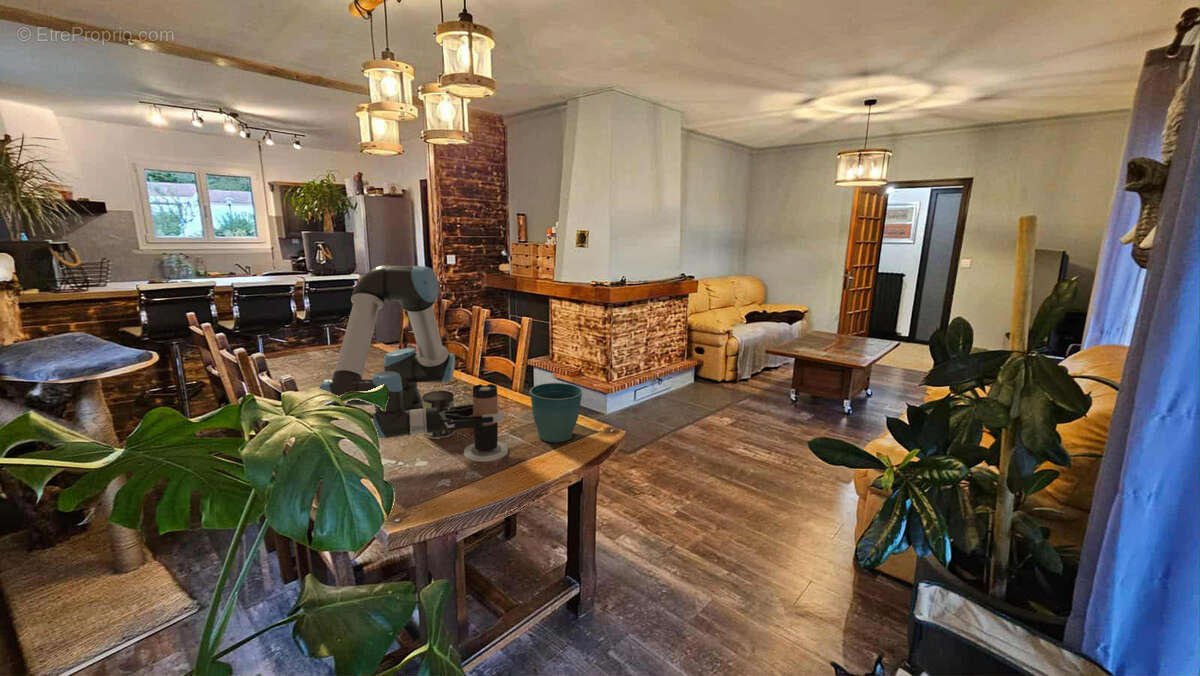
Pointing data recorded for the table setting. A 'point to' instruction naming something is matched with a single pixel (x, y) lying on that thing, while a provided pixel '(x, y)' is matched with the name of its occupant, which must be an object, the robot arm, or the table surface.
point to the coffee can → (439, 401)
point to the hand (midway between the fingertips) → (500, 412)
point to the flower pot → (555, 410)
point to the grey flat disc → (485, 453)
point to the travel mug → (481, 406)
